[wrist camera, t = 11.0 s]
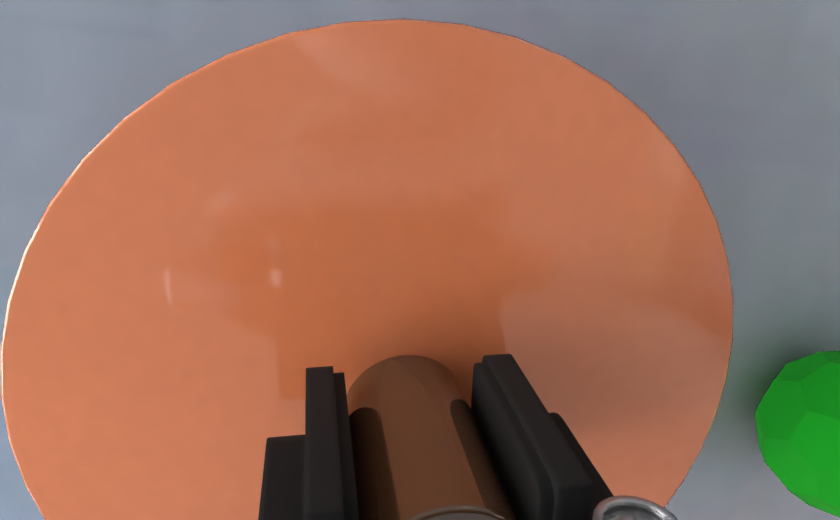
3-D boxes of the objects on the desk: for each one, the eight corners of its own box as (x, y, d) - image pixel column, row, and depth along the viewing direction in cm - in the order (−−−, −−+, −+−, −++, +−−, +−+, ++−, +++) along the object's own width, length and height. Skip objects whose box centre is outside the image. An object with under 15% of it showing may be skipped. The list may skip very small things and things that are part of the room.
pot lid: (-7, -49, 10) (-360, -143, 5) (789, 80, 13) (1107, 109, 8) (49, 638, 15) (-90, 963, 10) (615, 609, 18) (738, 839, 13)
